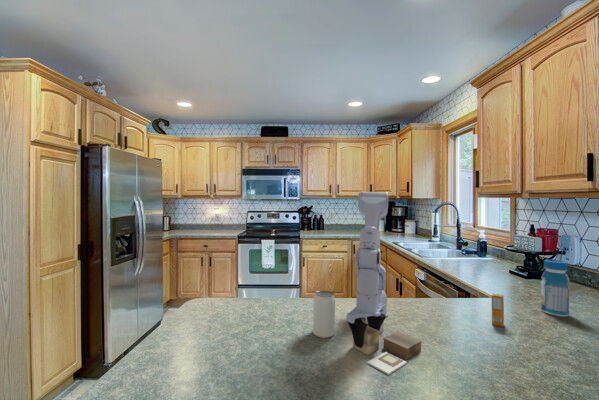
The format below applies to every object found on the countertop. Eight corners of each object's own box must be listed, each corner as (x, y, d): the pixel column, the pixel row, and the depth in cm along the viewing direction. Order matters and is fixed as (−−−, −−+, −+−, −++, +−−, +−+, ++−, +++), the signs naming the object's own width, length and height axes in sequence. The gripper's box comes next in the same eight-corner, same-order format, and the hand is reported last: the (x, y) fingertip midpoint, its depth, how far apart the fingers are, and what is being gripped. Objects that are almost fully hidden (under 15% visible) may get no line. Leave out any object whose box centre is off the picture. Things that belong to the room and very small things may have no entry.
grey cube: (372, 327, 92) (373, 314, 92) (383, 331, 88) (383, 318, 88) (365, 330, 89) (365, 317, 89) (375, 335, 86) (376, 321, 86)
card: (385, 353, 75) (385, 351, 75) (406, 363, 71) (406, 361, 71) (367, 363, 70) (367, 361, 70) (388, 375, 66) (388, 372, 66)
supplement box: (491, 321, 99) (492, 292, 99) (504, 324, 97) (504, 294, 97) (490, 324, 97) (491, 294, 97) (503, 327, 94) (503, 297, 95)
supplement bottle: (554, 317, 105) (555, 263, 106) (534, 308, 114) (535, 258, 114) (576, 317, 106) (577, 263, 106) (554, 309, 114) (556, 259, 114)
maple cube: (363, 342, 81) (364, 324, 81) (378, 349, 77) (379, 330, 78) (352, 347, 78) (353, 329, 78) (367, 355, 74) (368, 335, 74)
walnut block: (397, 341, 83) (397, 331, 83) (420, 352, 77) (421, 341, 77) (383, 349, 78) (383, 338, 78) (407, 360, 73) (407, 348, 73)
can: (316, 339, 82) (318, 297, 82) (310, 329, 88) (311, 290, 88) (337, 337, 83) (339, 296, 84) (329, 328, 90) (330, 289, 90)
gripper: (362, 302, 70) (360, 357, 70) (394, 292, 80) (393, 340, 79) (341, 294, 76) (339, 345, 76) (373, 285, 85) (372, 331, 85)
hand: (365, 342), depth 78 cm, fingers open, 6 cm apart
